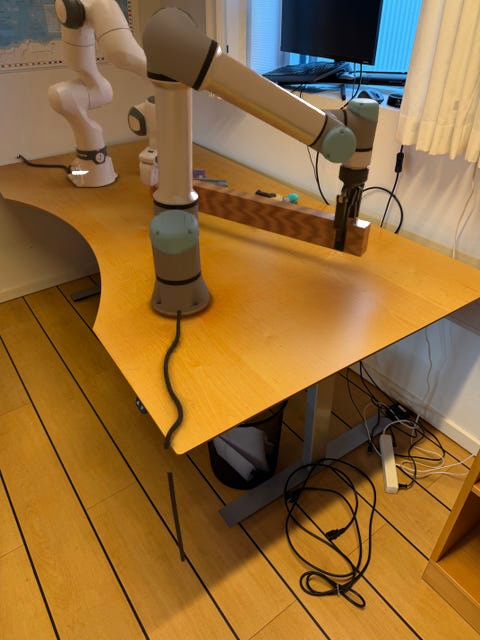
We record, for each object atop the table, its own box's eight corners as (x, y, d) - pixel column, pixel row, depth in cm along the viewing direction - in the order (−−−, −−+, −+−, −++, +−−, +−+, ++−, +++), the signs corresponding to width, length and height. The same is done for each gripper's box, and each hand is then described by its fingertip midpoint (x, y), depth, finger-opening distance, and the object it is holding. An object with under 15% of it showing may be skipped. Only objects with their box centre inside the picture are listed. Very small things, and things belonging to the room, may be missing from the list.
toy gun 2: (232, 207, 164) (271, 215, 159) (264, 184, 183) (300, 190, 177) (232, 219, 167) (271, 227, 161) (263, 195, 186) (299, 202, 180)
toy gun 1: (234, 179, 200) (226, 192, 189) (191, 176, 204) (181, 189, 192) (234, 170, 198) (226, 182, 186) (191, 167, 201) (180, 179, 189)
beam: (366, 251, 135) (371, 222, 130) (360, 257, 132) (364, 228, 127) (159, 194, 172) (156, 170, 167) (150, 198, 169) (147, 173, 164)
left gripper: (176, 141, 165) (179, 180, 174) (134, 156, 152) (140, 198, 160) (190, 144, 163) (192, 183, 171) (149, 160, 149) (154, 202, 157)
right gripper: (354, 154, 130) (343, 232, 144) (326, 171, 118) (316, 254, 132) (381, 159, 127) (366, 238, 140) (354, 177, 115) (341, 262, 128)
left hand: (167, 190), depth 165 cm, fingers closed on beam, 4 cm apart
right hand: (342, 246), depth 136 cm, fingers closed on beam, 4 cm apart
